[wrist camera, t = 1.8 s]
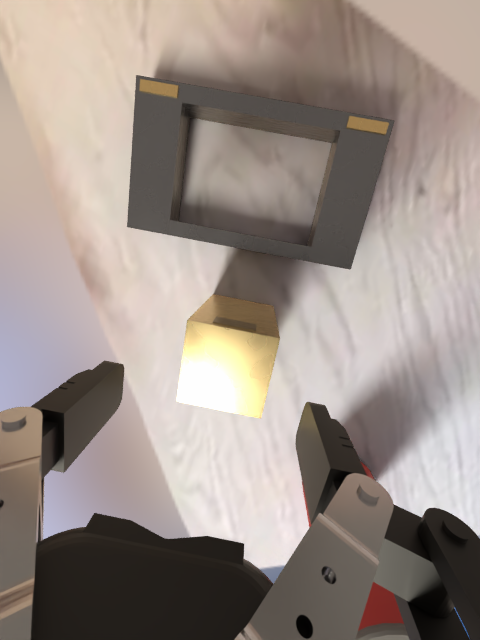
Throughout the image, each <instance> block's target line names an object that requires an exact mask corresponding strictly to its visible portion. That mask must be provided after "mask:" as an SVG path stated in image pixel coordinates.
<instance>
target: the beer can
mask: <svg viewBox="0 0 480 640" xmlns="http://www.w3.org/2000/svg"><path fill="white" fill-rule="evenodd" d="M361 463H362V462H361ZM362 465H363V468H364V470H365V472H366V474H367V476H368V477H370V478H372V479H373V480H374V478H373V476H372V474H371V472H370V470H369V469H368V468H367V467H366V466H365V465H364V464H363V463H362ZM302 485H303V481H302ZM303 492H304V486H303ZM304 498H305V504H306V510H307V516H308V522H309V527H311V525H312V524H311V523H310V518H309V512H308V507H307V502H306V497H305V492H304ZM355 640H409V637H408V634H407V631H406V628H405V625H404V622H403V619H402V617H401V614H400V611H399V608H398V605H397V602H396V599H395V596H394V593H392V592H391V591H389V590H387V589H385V588H383V587H382V586H380V585H378V584H376V583H375V582H373V584H372V587H371V590H370V594H369V597H368V600H367V603H366V606H365V610H364V613H363V616H362V619H361V623H360V626H359V629H358V632H357V635H356V639H355Z"/></svg>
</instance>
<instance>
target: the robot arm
mask: <svg viewBox="0 0 480 640" xmlns="http://www.w3.org/2000/svg"><path fill="white" fill-rule="evenodd" d="M123 379H124V366H123V364H119V363H114V362H109V361H103V362H102V363H101V364H99V365H98V366H97V367H96V368H94V369H93V370H86V371H83V372H81V373H78V374H76V375H74V376H73V377H71V378H70V379H69V380H67V382H65V383H63V384H62V385H60V386H59V388H56V389H55V390H53V391H52V392H51V393H49V394H48V395H47V396H45V397H44V398H42V399H41V400H40V401H38V402H37V403H35V404H34V405H32V406H31V407H17V408H12V409H8V410H5V411H2V412H0V640H355V639H356V635H357V632H358V629H359V626H360V623H361V619H362V616H363V613H364V610H365V606H366V603H367V600H368V597H369V594H370V590H371V587H372V584H373V582H375V583H376V584H378V585H380V586H382V587H383V588H385V589H387V590H389V591H391V592H392V593H394V596H395V599H396V602H397V605H398V608H399V611H400V614H401V617H402V619H403V622H404V625H405V628H406V631H407V634H408V637H409V640H480V539H479V537H478V536H477V535H476V534H475V532H474V531H473V530H472V529H471V528H470V527H469V526H468V525H466V524H465V523H464V522H463V521H461V520H460V519H459V518H457V517H456V516H454V515H452V514H450V513H449V512H446V511H444V510H441V509H438V508H429V509H427V510H426V511H425V513H424V515H423V517H422V518H421V517H419V516H417V515H415V514H413V513H411V512H408V511H406V510H404V509H402V508H400V507H398V506H396V505H394V504H393V501H392V499H391V496H390V495H389V493H388V492H387V491H386V490H385V489H384V488H383V487H382V486H381V485H380V484H379V483H378V482H376V481H375V480H373V479H372V478H370V477H368V476H367V474H366V472H365V470H364V468H363V465H362V463H361V461H360V459H359V457H358V455H357V453H356V451H355V449H353V444H352V442H351V441H350V438H349V436H348V434H347V432H346V430H345V428H344V427H343V426H342V425H341V424H340V423H339V422H338V421H337V420H335V419H331V418H330V415H329V413H328V410H327V408H326V406H325V405H321V404H316V403H311V402H307V403H306V404H305V407H304V410H303V413H302V417H301V420H300V423H299V427H298V430H297V434H296V450H297V455H298V460H299V466H300V471H301V476H302V481H303V486H304V492H305V497H306V502H307V507H308V512H309V518H310V523H311V524H312V525H311V527H310V528H309V530H308V531H307V533H306V534H305V536H304V537H303V539H302V541H301V542H300V544H299V545H298V547H297V548H296V550H295V551H294V553H293V555H292V556H291V558H290V559H289V561H288V562H287V564H286V565H285V567H284V569H283V570H282V572H281V573H280V575H279V576H278V578H277V580H276V581H275V583H274V584H273V583H272V582H271V581H270V580H269V578H268V577H267V576H266V575H265V574H264V573H262V571H261V570H259V569H258V568H257V567H256V566H254V565H253V564H252V563H250V562H249V561H247V560H245V559H243V558H244V544H243V543H238V542H234V541H229V540H224V539H219V538H214V537H209V536H202V537H190V538H178V539H164V538H162V537H160V536H159V535H157V534H155V533H153V532H151V531H149V530H148V529H145V528H144V527H142V526H140V525H138V524H137V523H135V522H133V521H131V520H126V519H121V518H116V517H111V516H107V515H102V514H97V513H94V515H93V516H92V518H91V520H90V521H89V523H88V525H87V526H86V527H81V528H76V529H71V530H67V531H64V532H61V533H58V534H55V535H53V536H50V537H48V538H46V539H44V540H43V512H44V477H45V475H46V474H47V473H48V472H49V471H50V470H54V471H59V472H65V471H66V470H67V469H68V467H69V466H70V465H71V464H72V463H73V462H74V460H75V459H76V458H77V457H78V455H79V454H80V453H81V452H82V451H83V450H84V449H85V447H86V446H87V445H88V444H89V443H90V441H91V440H92V439H93V437H95V435H96V434H97V433H98V432H99V431H100V430H101V428H102V427H103V426H104V425H105V424H106V422H107V421H108V420H109V419H110V418H111V416H112V415H113V414H114V413H115V412H116V410H117V409H118V407H119V405H120V403H121V400H122V393H123ZM454 607H455V608H456V610H457V612H458V614H459V616H460V618H461V620H462V622H463V624H464V626H465V628H466V630H467V632H468V635H469V637H470V639H469V637H468V635H467V633H466V631H465V630H464V627H463V625H462V623H461V621H460V619H459V617H458V615H457V613H456V611H455V609H454Z"/></svg>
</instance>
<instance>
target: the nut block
mask: <svg viewBox="0 0 480 640" xmlns="http://www.w3.org/2000/svg"><path fill="white" fill-rule="evenodd" d="M279 340H280V336H279V331H278V326H277V321H276V317H275V312H274V307H273V306H271V305H266V304H261V303H256V302H251V301H246V300H241V299H235V298H230V297H225V296H220V295H215V294H213V295H212V296H211V297H210V298H209V299H208V300H207V301H206V302H205V303H204V304H203V305H202V306H201V307H200V308H199V309H198V310H197V311H196V312H195V313H194V314H193V315H192V316H191V317H190V318H189V319H188V320H187V326H186V334H185V341H184V349H183V356H182V364H181V372H180V379H179V387H178V394H177V401H178V402H183V403H188V404H193V405H198V406H203V407H207V408H212V409H217V410H222V411H227V412H232V413H237V414H241V415H246V416H251V417H256V418H261V416H262V412H263V408H264V403H265V399H266V395H267V391H268V387H269V382H270V378H271V374H272V370H273V366H274V361H275V357H276V353H277V349H278V345H279Z"/></svg>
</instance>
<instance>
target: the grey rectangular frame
mask: <svg viewBox="0 0 480 640" xmlns="http://www.w3.org/2000/svg"><path fill="white" fill-rule="evenodd" d="M190 117H191V118H197V119H202V120H208V121H213V122H219V123H224V124H230V125H236V126H241V127H247V128H252V129H258V130H263V131H269V132H275V133H280V134H286V135H291V136H297V137H303V138H308V139H314V140H319V141H325V142H330V143H332V146H331V150H330V154H329V158H328V162H327V166H326V170H325V174H324V178H323V182H322V187H321V191H320V195H319V199H318V203H317V207H316V211H315V215H314V219H313V224H312V228H311V232H310V236H309V240H308V244H307V246H305V245H300V244H294V243H289V242H284V241H278V240H273V239H268V238H263V237H257V236H252V235H247V234H241V233H236V232H231V231H226V230H220V229H215V228H210V227H204V226H199V225H194V224H189V223H183V222H179V213H180V204H181V195H182V186H183V177H184V168H185V159H186V150H187V141H188V132H189V123H190ZM393 124H394V120H388V119H383V118H377V117H371V116H366V115H360V114H354V113H349V112H343V111H337V110H332V109H326V108H320V107H315V106H309V105H303V104H297V103H292V102H286V101H280V100H275V99H269V98H263V97H258V96H252V95H246V94H241V93H235V92H229V91H224V90H218V89H212V88H207V87H201V86H195V85H190V84H184V83H178V82H173V81H167V80H161V79H156V78H150V77H144V76H139V75H136V90H135V107H134V123H133V140H132V156H131V173H130V189H129V206H128V222H127V227H130V228H135V229H141V230H146V231H151V232H156V233H162V234H167V235H172V236H177V237H183V238H188V239H193V240H198V241H204V242H209V243H214V244H219V245H225V246H230V247H235V248H240V249H246V250H251V251H256V252H261V253H267V254H272V255H277V256H282V257H288V258H293V259H298V260H303V261H309V262H314V263H319V264H324V265H330V266H335V267H340V268H345V269H351V266H352V263H353V260H354V256H355V253H356V249H357V246H358V243H359V239H360V236H361V232H362V229H363V226H364V222H365V219H366V216H367V212H368V209H369V205H370V202H371V199H372V195H373V192H374V188H375V185H376V182H377V178H378V175H379V171H380V168H381V165H382V161H383V158H384V154H385V151H386V148H387V144H388V141H389V137H390V134H391V131H392V127H393Z"/></svg>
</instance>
